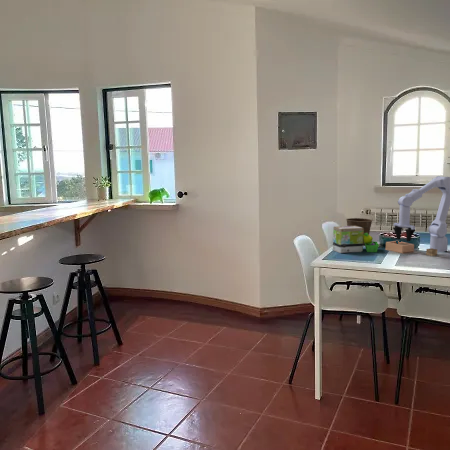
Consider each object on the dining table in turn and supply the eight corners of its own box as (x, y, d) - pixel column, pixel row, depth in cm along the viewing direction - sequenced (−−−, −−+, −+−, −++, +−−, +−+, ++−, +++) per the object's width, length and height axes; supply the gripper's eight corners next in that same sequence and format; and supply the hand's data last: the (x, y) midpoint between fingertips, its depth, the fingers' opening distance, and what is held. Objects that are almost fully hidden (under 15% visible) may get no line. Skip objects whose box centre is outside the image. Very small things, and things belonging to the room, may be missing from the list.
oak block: (431, 255, 264) (431, 248, 263) (437, 256, 260) (437, 249, 260) (426, 255, 262) (426, 248, 262) (431, 257, 259) (432, 250, 258)
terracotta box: (397, 248, 281) (397, 240, 281) (413, 252, 270) (414, 244, 269) (385, 249, 278) (385, 242, 277) (402, 253, 266) (402, 245, 265)
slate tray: (398, 248, 283) (398, 247, 283) (420, 253, 268) (421, 252, 268) (383, 250, 278) (383, 249, 278) (405, 255, 263) (405, 254, 263)
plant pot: (368, 242, 306) (369, 217, 303) (374, 246, 290) (375, 221, 287) (343, 241, 307) (344, 217, 305) (347, 246, 291) (348, 221, 289)
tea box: (340, 253, 271) (341, 228, 269) (332, 250, 281) (332, 226, 278) (363, 251, 275) (364, 227, 273) (354, 248, 285) (355, 225, 282)
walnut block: (402, 249, 274) (403, 243, 273) (408, 251, 270) (408, 244, 269) (397, 250, 272) (397, 243, 271) (402, 251, 268) (403, 244, 268)
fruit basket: (379, 253, 269) (379, 234, 268) (363, 253, 271) (363, 234, 269) (376, 249, 280) (377, 231, 279) (361, 249, 282) (362, 231, 281)
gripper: (390, 216, 273) (389, 238, 275) (409, 218, 260) (407, 242, 262) (399, 215, 276) (398, 237, 278) (418, 218, 263) (417, 241, 265)
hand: (403, 240), depth 270 cm, fingers open, 7 cm apart
